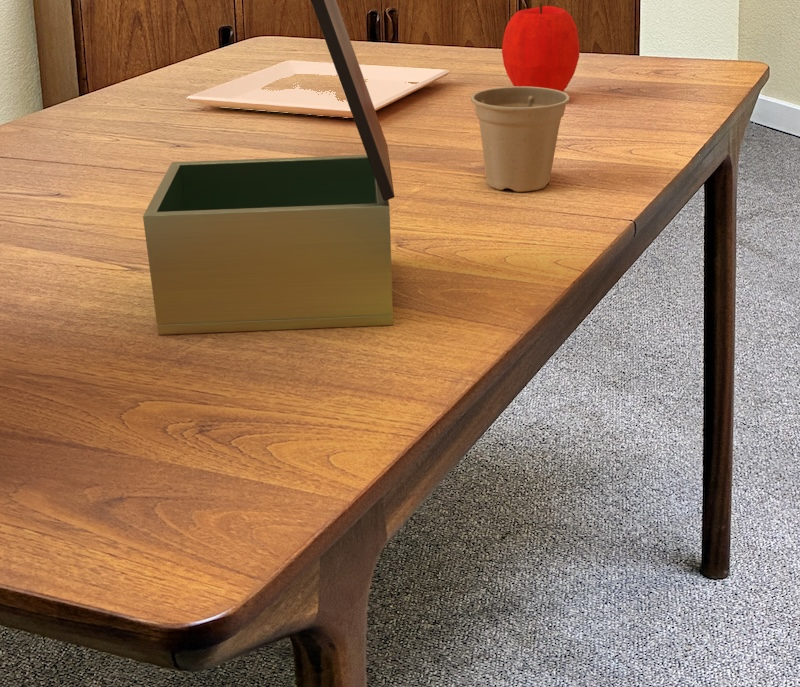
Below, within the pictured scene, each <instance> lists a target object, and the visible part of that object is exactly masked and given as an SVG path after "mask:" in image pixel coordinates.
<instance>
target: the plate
mask: <svg viewBox="0 0 800 687" xmlns="http://www.w3.org/2000/svg"><path fill="white" fill-rule="evenodd" d="M358 64H359V67H360V69H361V72H362V75H363V78H364V79H368V80H366V81H367V82H365V83H366V86H367V89H368V92H369V95H370V98H371V100H372V103H373V106H374V109H375V112H377V111H378V110H380V109H382V108H384V107H386V106H388V105H390V104H392V103H394V102H396V101H398V100H400V99H402V98H404V97H407V96H408V95H410V94H412V93H414V92H416V91H418V90H420V89H422V88H424V87H427V86H428V85H430V84H433V83H434V82H436V81H438V80H440V79H443V78H444V77H447V76H448V75H449V74H450V73H451V70H448V69H445V68H443V69H442V68H427V67H409V66H393V65H378V64H377V65H376V64H375V65H374V64H360V63H358ZM294 74H316V75H317V74H319V75H332V76H334V75H335V76H336V75H338V74H337V71H336V69H335V66H334V63H333V62H327V61H324V62H323V61H311V60H310V61H307V60H292V59H289V60H285V61H282V62H279V63H277V64H274V65H270V66H268V67H265V68H262V69H259V70H257V71H254V72H252V73H251V72H250V73H249V74H245V75H243V76H240V77H237V78H234V79H232V80H229V81H226V82H224V83H220V84H218V85H215V86H212V87H209V88H207V89H203V90H201V91H198V92H196V93H195V92H194V93H193V94H190V95H188V96H186V98H185V99H186V100H188V101H190V102H192V103H196V104H200V105H205V106H209V107H213V106H214V107H213V108H217V107H229V108H240V109H253V110H265V111H278V112H288V113H298V114H311V115H323V116H333V117H348V118H353V115H352V113H351V110H350V107H349V104H348V102H347V101H346V100H347V99H346V100H343V101H344V102H342V101H340V100H339V101H338V100H337V98H336V97H335V96H336V95H335V93H336V92H333V91H332V92H331V93H330V92H329V91H331V90H329V91H325V92H322V91H321V92H317V91H313V90H312V91H311V89H309V90H307V89H306V90H304V89H299V88H300V87H299V85H297V86H298V87H296V86H295V87H296V88H295V89H284V90H280V91H279V90H277V91H276V90H274V91H272V90H271V91H270V90H268V89H266V90H265V89H264V90H262V89H261V88H262V87H264V86H266V85H268V84H270V83H272V82H274V81H276V80H279V79H281V78H286V77H290V76H292V75H294ZM405 82H406V83H405ZM408 82H419V83H417V84H411V83H408ZM297 83H298V82H297ZM295 84H296V83H295ZM293 85H294V84H293ZM293 88H294V87H293ZM267 90H268V91H267ZM319 91H320V90H319ZM316 92H317V93H316ZM326 92H327V93H326ZM321 93H323V94H321ZM333 93H334V94H333ZM318 94H319V95H318ZM329 94H330V95H329ZM338 99H339V98H338Z"/></svg>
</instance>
